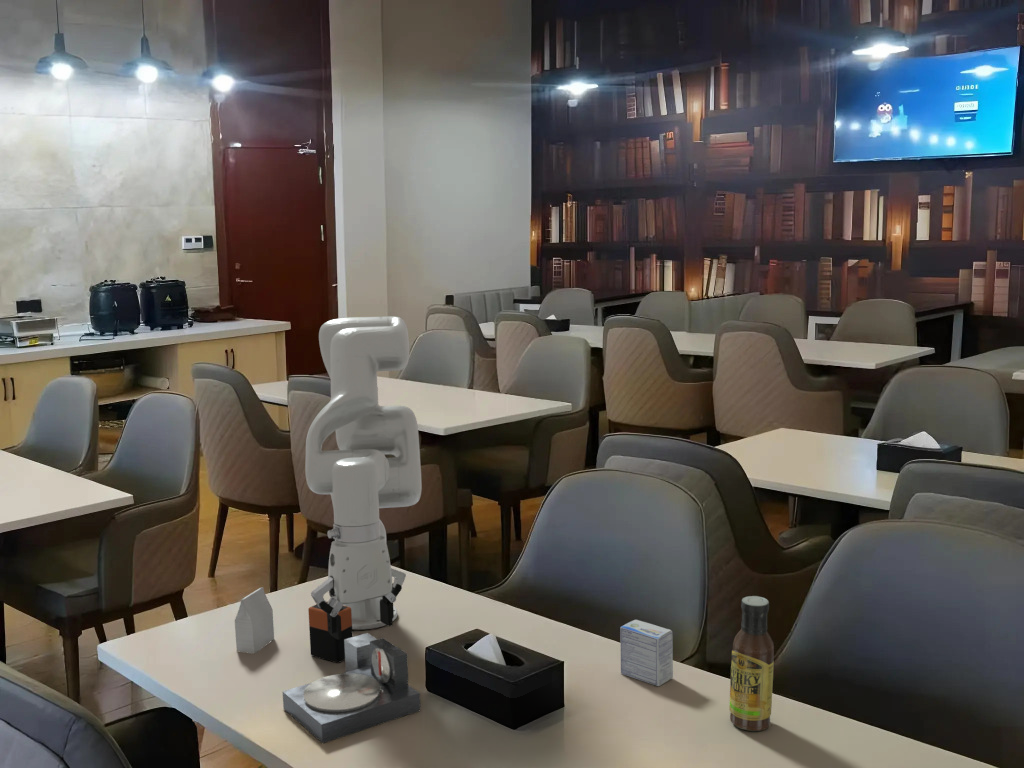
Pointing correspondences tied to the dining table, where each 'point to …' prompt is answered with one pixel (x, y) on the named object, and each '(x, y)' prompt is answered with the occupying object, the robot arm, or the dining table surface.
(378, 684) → the dial scale
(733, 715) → the sauce bottle
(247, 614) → the grey house-shaped block
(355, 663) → the light grey rectangular block
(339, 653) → the battery
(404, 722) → the dining table surface
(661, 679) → the medicine box
